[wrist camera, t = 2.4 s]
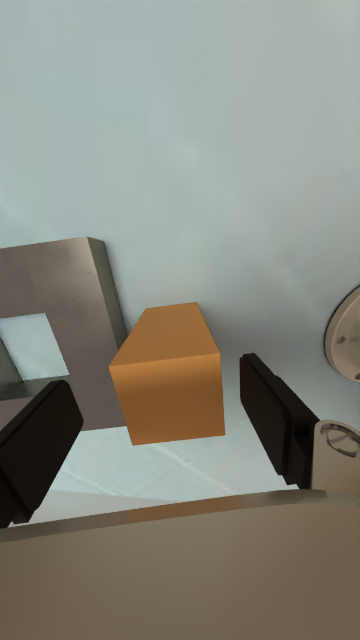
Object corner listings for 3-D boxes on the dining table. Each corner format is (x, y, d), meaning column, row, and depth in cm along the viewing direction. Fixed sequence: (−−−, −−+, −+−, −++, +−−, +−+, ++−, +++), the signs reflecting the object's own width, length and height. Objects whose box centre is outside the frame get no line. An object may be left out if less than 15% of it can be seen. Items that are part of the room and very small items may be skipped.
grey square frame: (103, 241, 15) (86, 236, 12) (143, 402, 21) (138, 424, 18) (-92, 268, 16) (-153, 270, 13) (0, 419, 21) (-28, 443, 18)
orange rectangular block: (195, 302, 17) (220, 352, 8) (200, 347, 19) (225, 435, 9) (146, 308, 17) (108, 366, 8) (154, 352, 19) (132, 445, 9)
